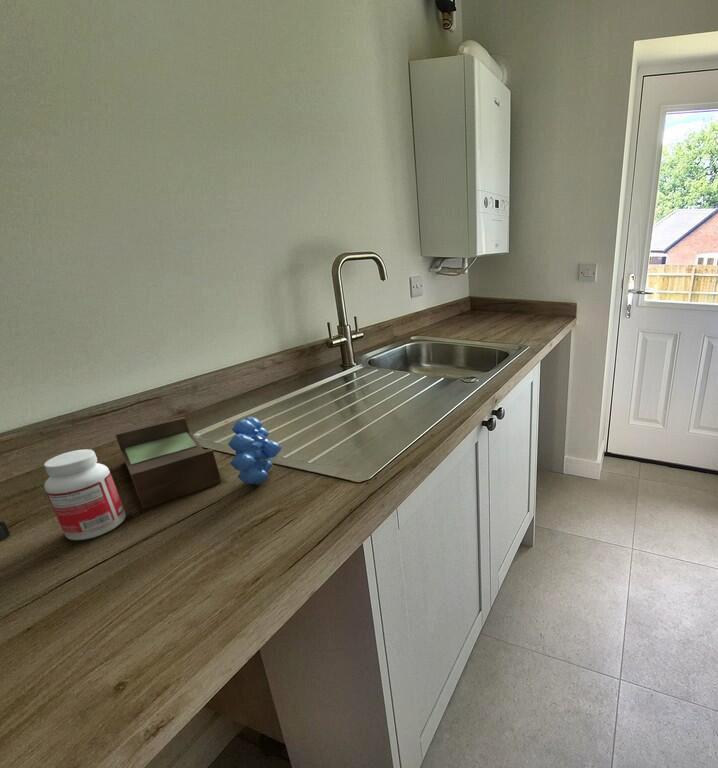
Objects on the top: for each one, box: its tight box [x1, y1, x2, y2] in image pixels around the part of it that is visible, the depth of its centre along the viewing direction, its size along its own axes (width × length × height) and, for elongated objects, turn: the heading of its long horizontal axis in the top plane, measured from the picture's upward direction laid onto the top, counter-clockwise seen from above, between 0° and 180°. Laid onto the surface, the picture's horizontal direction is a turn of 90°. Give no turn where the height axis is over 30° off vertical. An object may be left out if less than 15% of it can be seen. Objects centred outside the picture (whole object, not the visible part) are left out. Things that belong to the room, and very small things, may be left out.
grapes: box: [227, 416, 283, 486], centre depth 66 cm, size 12×7×12 cm, turn 16°
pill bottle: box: [43, 448, 126, 541], centre depth 56 cm, size 6×6×11 cm
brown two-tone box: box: [114, 416, 222, 510], centre depth 70 cm, size 10×21×6 cm, turn 48°
